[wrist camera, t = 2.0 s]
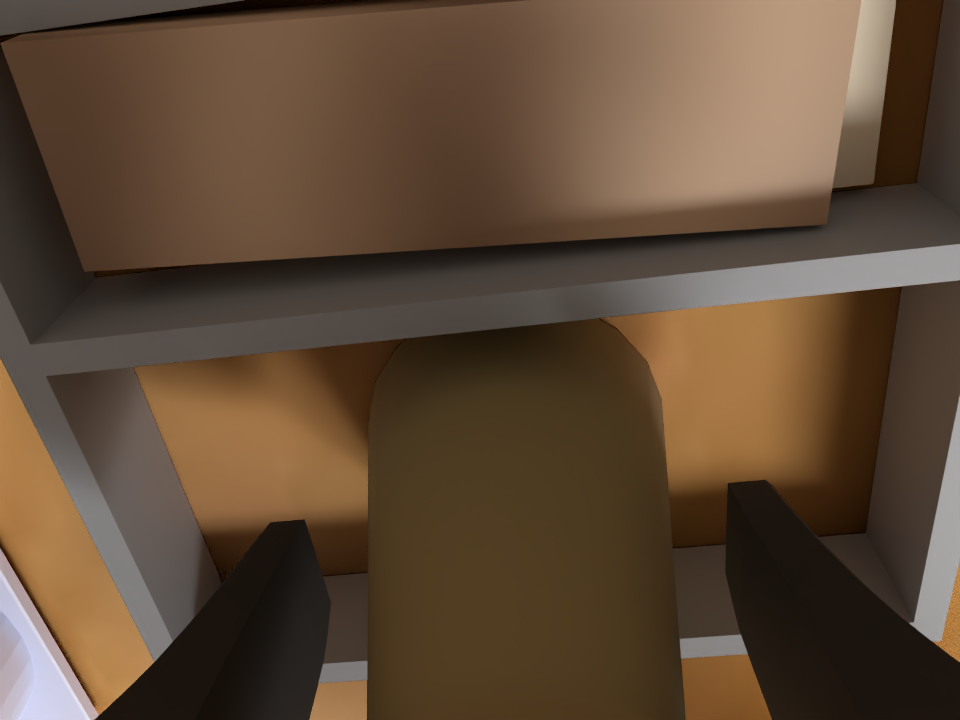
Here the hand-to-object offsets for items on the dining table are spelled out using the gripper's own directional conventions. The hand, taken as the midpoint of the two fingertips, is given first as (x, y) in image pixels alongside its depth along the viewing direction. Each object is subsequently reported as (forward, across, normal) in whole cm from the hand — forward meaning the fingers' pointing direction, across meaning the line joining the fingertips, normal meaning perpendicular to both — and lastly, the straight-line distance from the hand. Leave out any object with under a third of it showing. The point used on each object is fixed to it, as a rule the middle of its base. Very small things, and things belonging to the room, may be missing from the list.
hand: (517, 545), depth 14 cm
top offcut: (+3, 0, -7) cm, 7 cm away
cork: (+4, 0, 0) cm, 4 cm away
